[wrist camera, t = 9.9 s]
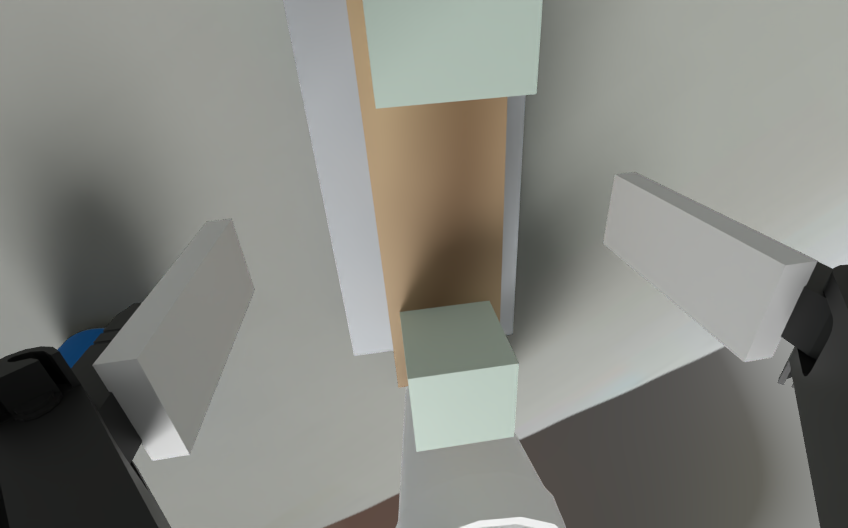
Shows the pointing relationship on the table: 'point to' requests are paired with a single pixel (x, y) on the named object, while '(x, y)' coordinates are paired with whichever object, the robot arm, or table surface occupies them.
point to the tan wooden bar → (433, 196)
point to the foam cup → (471, 486)
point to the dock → (349, 172)
